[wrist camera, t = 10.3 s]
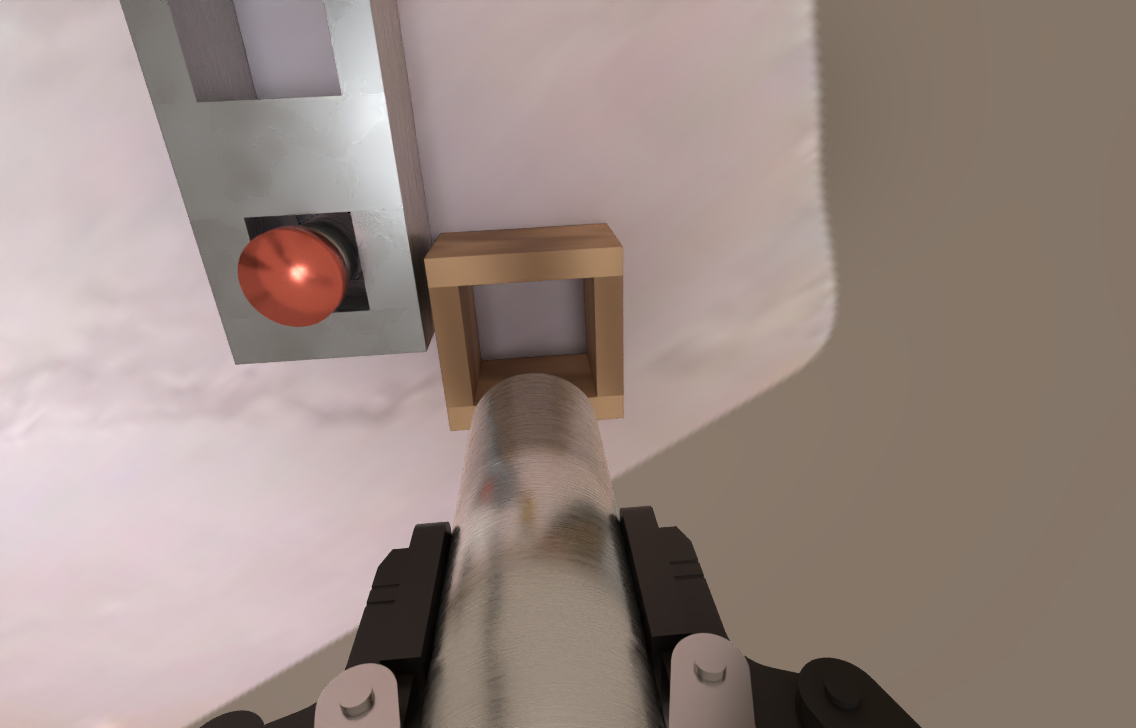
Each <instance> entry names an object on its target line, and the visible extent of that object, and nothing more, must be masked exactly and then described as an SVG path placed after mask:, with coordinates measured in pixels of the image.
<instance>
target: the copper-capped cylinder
mask: <svg viewBox="0 0 1136 728" xmlns="http://www.w3.org/2000/svg"><path fill="white" fill-rule="evenodd" d="M361 271H362V267H361V262H360V257H359V252H358V247H357V242H356V237H355V232H354V227H353V222H352V217H351V214H348V213H346V212H333V213H320V214H318V215H316V216H315V217H313V218H311V219H309V220H307V221H305V222H303V223H301V224H299V225H298V226H297V225H286V226H280V227H276V228H274V229H271V230H269V231H267V232H265V233H263V234H261V235H259V236H257V237H255V238H254V239H252V240H251V241H250V242H249V243H248V244H247V245H246V247H245V248H244V249H243V251H242V253H241V255H240V258H239V262H238V279H239V284H240V287H241V289H242V291H243V293H244V295H245V297H246V298H247V300H248V301H249V303H250V304H251V305H252V306H253V307H254V308H255V309H256V310H257V311H258V312H259V313H261V314H262V315H263V316H265V317H266V318H268V319H270V320H272V321H274V322H276V323H279V324H282V325H286V326H292V327H305V326H310V325H314V324H317V323H319V322H321V321H323V320H324V319H326V318H327V317H328V316H329V315H330V314H331V313H332V312H333V311H334V310H335V309H336V308H337V307H338V306H339V305H340V304H341V302H342V301H343V299H344V298H345V295H346V293H347V290H348V285H349V283H350V282H351V281H352V280H353V279H354V278H355V277H356V276H357V275H358V274H359V273H360V272H361Z"/></svg>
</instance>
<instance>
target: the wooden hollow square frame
mask: <svg viewBox="0 0 1136 728" xmlns="http://www.w3.org/2000/svg"><path fill="white" fill-rule="evenodd" d="M424 262H425V268H426V275H427V282H428V288H429V295H430V301H431V308H432V314H433V321H434V327H435V334H436V340H437V347H438V353H439V360H440V367H441V373H442V380H443V386H444V393H445V399H446V406H447V412H448V419H449V425H450V431H456V430H469V429H470V426H471V420H472V416H473V413H474V410H475V408H476V406H477V404H478V403H479V401H480V399H481V398H482V397H483V396H484V394H485V393H486V392H487V391H489V390H490V389H491V388H492V387H493V386H495V385H496V384H498V383H499V382H501V381H503V380H505V379H508V378H510V377H513V376H517V375H521V374H527V373H543V374H549V375H554V376H557V377H560V378H563V379H565V380H567V381H569V382H571V383H572V384H574V385H575V386H576V387H578V388H579V389H580V390H581V391H582V392H583V393H584V394H585V395H586V396H587V398H588V399H589V401H590V402H591V404H592V406H593V408H594V410H595V414H596V418H597V420H604V419H617V418H624V387H623V246H622V245H621V243H620V242H619V241H618V239H617V238H616V236H615V235H614V233H613V232H612V230H611V229H610V228H609V226H608V225H607V223H606V224H589V225H572V226H555V227H538V228H522V229H505V230H488V231H471V232H454V233H441V234H440V235H439V237H438V238H437V240H436V241H435V243H434V244H433V246H432V248H431V249H430V251H429V252H428V254H427V255H426V257H425V258H424ZM576 278H584V294H585V323H586V352H587V353H586V354H571V355H557V356H542V357H528V358H513V359H499V360H485V361H481V353H480V345H479V337H478V328H477V320H476V311H475V303H474V295H473V286H472V285H481V284H497V283H513V282H529V281H544V280H560V279H576Z"/></svg>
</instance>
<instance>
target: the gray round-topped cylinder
mask: <svg viewBox="0 0 1136 728" xmlns="http://www.w3.org/2000/svg"><path fill="white" fill-rule="evenodd" d="M419 728H666V724H665V719H664V715H663V710H662V706H661V701H660V697H659V692H658V688H657V684H656V679H655V675H654V670H653V667H652V663H651V659H650V654H649V650H648V645H647V641H646V636H645V632H644V627H643V623H642V619H641V614H640V610H639V605H638V601H637V596H636V592H635V587H634V583H633V579H632V574H631V570H630V565H629V561H628V556H627V552H626V547H625V543H624V538H623V534H622V530H621V525H620V520H619V515H618V511H617V507H616V502H615V497H614V493H613V489H612V484H611V480H610V475H609V471H608V466H607V462H606V457H605V453H604V449H603V444H602V440H601V435H600V431H599V426H598V422H597V418H596V414H595V410H594V408H593V406H592V404H591V402H590V401H589V399H588V398H587V396H586V395H585V394H584V393H583V392H582V391H581V390H580V389H579V388H578V387H576V386H575V385H574V384H572V383H571V382H569V381H567V380H565V379H563V378H560V377H557V376H554V375H549V374H543V373H527V374H521V375H517V376H513V377H510V378H508V379H505V380H503V381H501V382H499V383H498V384H496V385H495V386H493V387H492V388H491V389H490V390H489V391H487V392H486V393H485V394H484V396H483V397H482V398H481V399H480V401H479V403H478V404H477V406H476V408H475V410H474V413H473V416H472V420H471V426H470V432H469V438H468V444H467V449H466V455H465V461H464V467H463V473H462V478H461V484H460V490H459V496H458V502H457V507H456V513H455V519H454V525H453V531H452V536H451V542H450V548H449V554H448V560H447V565H446V571H445V577H444V583H443V588H442V594H441V600H440V606H439V612H438V617H437V623H436V629H435V635H434V641H433V646H432V652H431V658H430V664H429V670H428V675H427V681H426V687H425V693H424V699H423V704H422V710H421V716H420V722H419Z"/></svg>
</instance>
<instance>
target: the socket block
mask: <svg viewBox="0 0 1136 728" xmlns="http://www.w3.org/2000/svg"><path fill="white" fill-rule="evenodd" d="M323 1H324V6H325V11H326V16H327V22H328V27H329V32H330V37H331V43H332V48H333V53H334V58H335V64H336V69H337V74H338V79H339V85H340V90H341V95H342V96H322V97H301V98H281V99H260V100H257V98H256V94H255V90H254V86H253V82H252V78H251V74H250V70H249V66H248V62H247V58H246V54H245V50H244V46H243V42H242V37H241V33H240V29H239V25H238V21H237V17H236V13H235V9H234V5H233V1H232V0H120V3H121V6H122V9H123V12H124V15H125V19H126V22H127V25H128V28H129V31H130V34H131V37H132V41H133V44H134V47H135V50H136V53H137V56H138V60H139V63H140V66H141V69H142V72H143V75H144V78H145V82H146V85H147V88H148V91H149V94H150V97H151V100H152V104H153V107H154V110H155V113H156V116H157V119H158V122H159V126H160V129H161V132H162V135H163V138H164V141H165V144H166V148H167V151H168V154H169V157H170V160H171V163H172V166H173V170H174V173H175V176H176V179H177V182H178V185H179V188H180V192H181V195H182V198H183V201H184V204H185V207H186V210H187V214H188V217H189V220H190V223H191V226H192V229H193V233H194V236H195V239H196V242H197V245H198V248H199V251H200V255H201V258H202V261H203V264H204V267H205V270H206V273H207V277H208V280H209V283H210V286H211V289H212V292H213V295H214V299H215V302H216V305H217V308H218V311H219V314H220V317H221V321H222V324H223V327H224V330H225V333H226V336H227V339H228V343H229V346H230V349H231V352H232V355H233V358H234V361H235V365H237V364H252V363H266V362H281V361H296V360H310V359H325V358H340V357H354V356H369V355H384V354H398V353H413V352H426V351H427V349H428V346H429V344H430V341H431V339H432V336H433V334H434V331H435V327H434V321H433V314H432V308H431V301H430V295H429V288H428V282H427V275H426V268H425V262H424V258H425V257H426V255H427V254H428V252H429V251H430V249H431V248H432V242H431V235H430V228H429V221H428V214H427V208H426V201H425V194H424V187H423V180H422V173H421V166H420V160H419V153H418V146H417V139H416V132H415V125H414V118H413V111H412V105H411V98H410V91H409V84H408V77H407V70H406V63H405V56H404V50H403V43H402V36H401V29H400V22H399V15H398V8H397V2H396V0H323ZM333 212H351V217H352V222H353V227H354V232H355V237H356V242H357V247H358V252H359V257H360V262H361V267H362V272H363V277H364V279H357V280H352V281H351V282H350V283H349V285H348V290H347V293H346V295H345V298H344V299H343V301H342V302H341V304H340V305H339V306H338V307H337V308H336V309H335V310H334V311H333V312H332V313H331V314H330V315H329V316H328V317H327V318H326V319H324V320H323V321H321V322H319V323H317V324H314V325H310V326H305V327H292V326H286V325H282V324H279V323H276V322H274V321H272V320H270V319H268V318H266V317H265V316H263V315H262V314H261V313H259V312H258V311H257V310H256V309H255V308H254V307H253V306H252V305H251V304H250V303H249V301H248V300H247V298H246V297H245V295H244V293H243V291H242V289H241V287H240V284H239V279H238V262H239V258H240V255H241V253H242V251H243V249H244V248H245V247H246V245H247V244H248V243H249V242H250V241H251V240H252V239H254V238H255V237H257V236H259V235H261V234H263V233H265V232H267V231H269V230H271V229H274V228H276V227H280V226H286V225H297V226H298V225H299V223H298V219H297V215H298V214H316V213H333Z"/></svg>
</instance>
